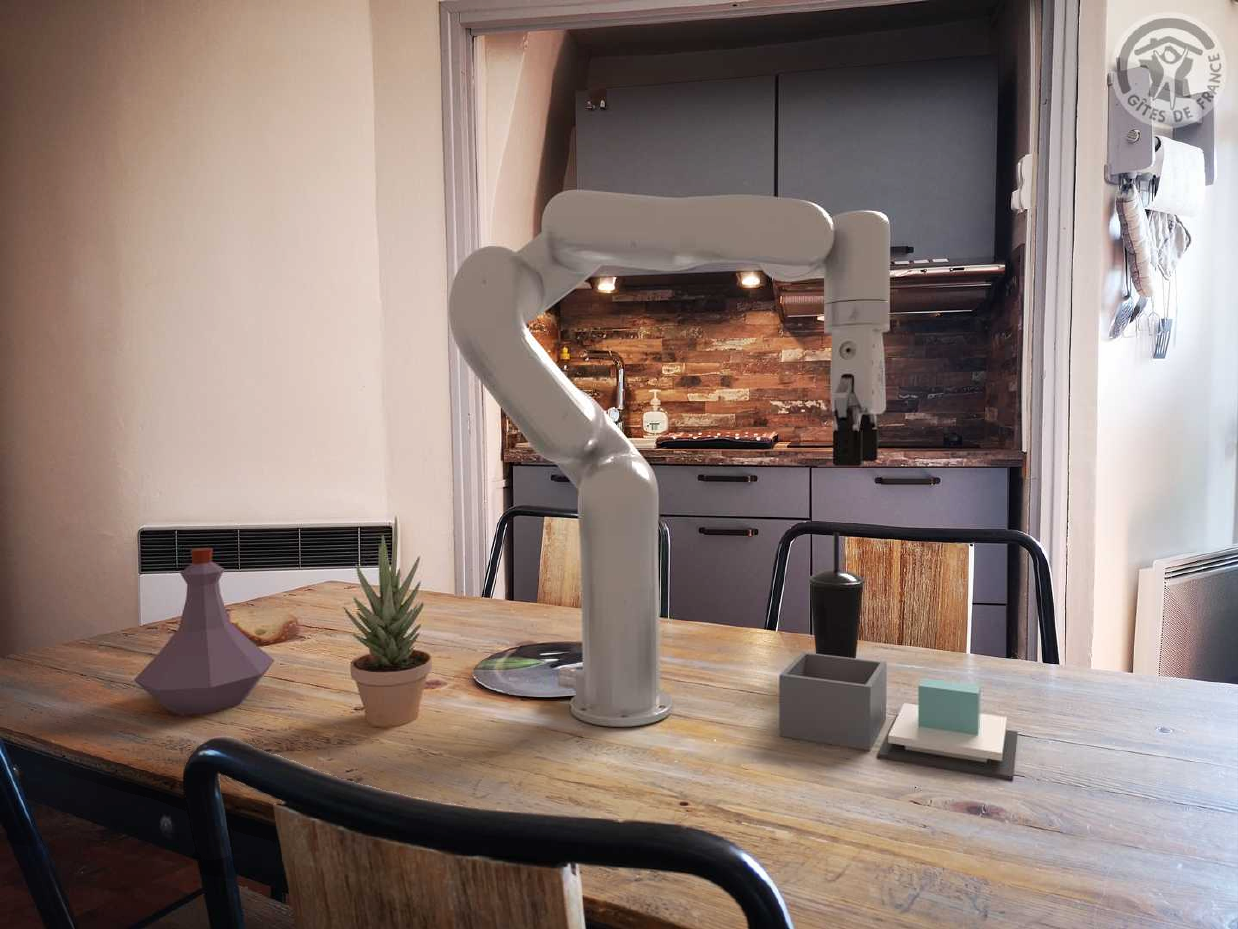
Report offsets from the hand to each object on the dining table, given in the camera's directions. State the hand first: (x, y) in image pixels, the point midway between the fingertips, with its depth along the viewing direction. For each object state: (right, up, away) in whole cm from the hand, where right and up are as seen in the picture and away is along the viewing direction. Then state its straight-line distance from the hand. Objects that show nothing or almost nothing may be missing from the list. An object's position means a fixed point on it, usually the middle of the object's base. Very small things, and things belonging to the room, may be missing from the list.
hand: (856, 463), depth 102 cm
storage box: (-4, -31, -4) cm, 31 cm away
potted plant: (-56, -31, +1) cm, 64 cm away
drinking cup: (+1, -30, +15) cm, 33 cm away
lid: (+7, -30, -10) cm, 33 cm away
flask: (-82, -31, +8) cm, 88 cm away
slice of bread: (-91, -30, +44) cm, 105 cm away
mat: (+7, -31, -10) cm, 33 cm away
